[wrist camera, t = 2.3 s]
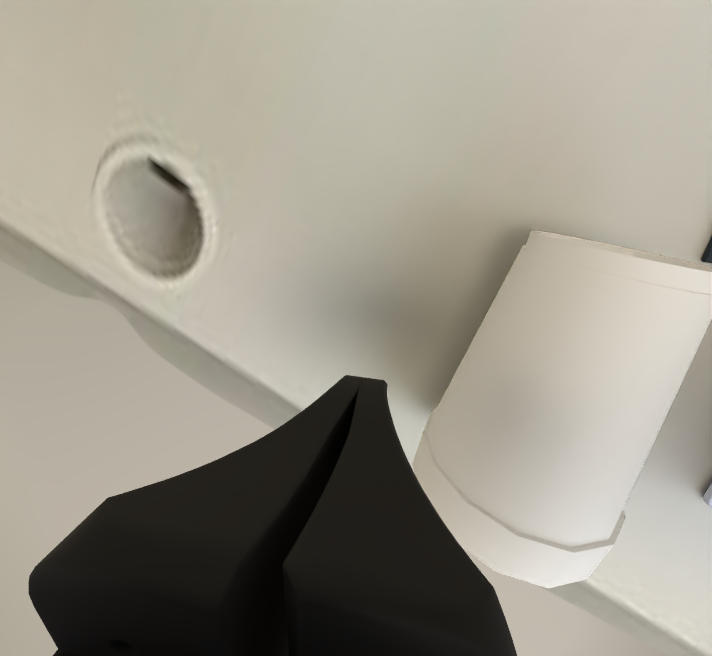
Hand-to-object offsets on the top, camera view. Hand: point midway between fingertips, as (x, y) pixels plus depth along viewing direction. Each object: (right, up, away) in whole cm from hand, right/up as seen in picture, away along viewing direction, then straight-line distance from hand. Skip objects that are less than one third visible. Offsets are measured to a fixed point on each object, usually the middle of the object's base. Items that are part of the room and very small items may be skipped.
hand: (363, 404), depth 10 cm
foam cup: (+10, +6, +2) cm, 12 cm away
